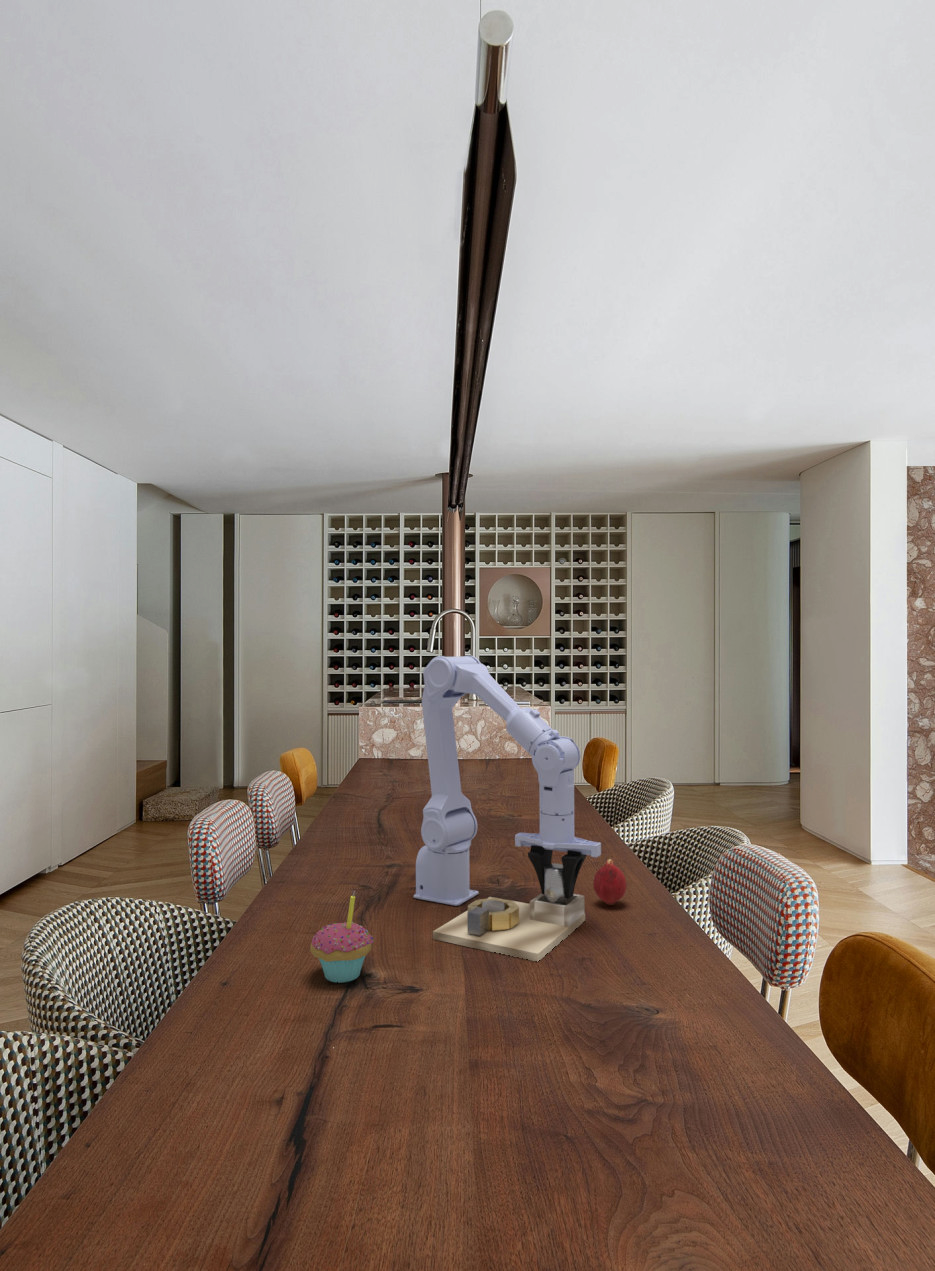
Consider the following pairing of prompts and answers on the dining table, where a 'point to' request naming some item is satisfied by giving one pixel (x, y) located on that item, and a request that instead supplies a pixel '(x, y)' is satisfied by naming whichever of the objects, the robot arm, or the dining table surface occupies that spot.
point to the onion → (609, 883)
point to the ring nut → (491, 917)
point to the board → (520, 928)
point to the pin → (554, 884)
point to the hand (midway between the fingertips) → (557, 894)
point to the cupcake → (342, 948)
